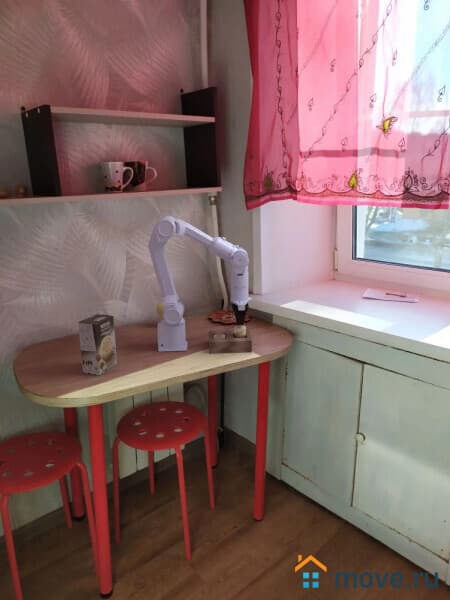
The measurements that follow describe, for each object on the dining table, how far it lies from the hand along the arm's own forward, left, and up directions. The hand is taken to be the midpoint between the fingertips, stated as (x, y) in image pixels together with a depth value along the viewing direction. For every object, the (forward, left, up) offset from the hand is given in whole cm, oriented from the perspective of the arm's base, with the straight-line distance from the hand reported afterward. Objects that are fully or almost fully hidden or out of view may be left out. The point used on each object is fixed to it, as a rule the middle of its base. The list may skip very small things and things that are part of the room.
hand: (240, 324), depth 156 cm
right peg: (0, 0, -5) cm, 5 cm away
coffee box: (-44, -15, -8) cm, 47 cm away
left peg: (-7, 0, -8) cm, 10 cm away
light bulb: (-27, +23, -8) cm, 36 cm away
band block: (-4, 0, -8) cm, 9 cm away
